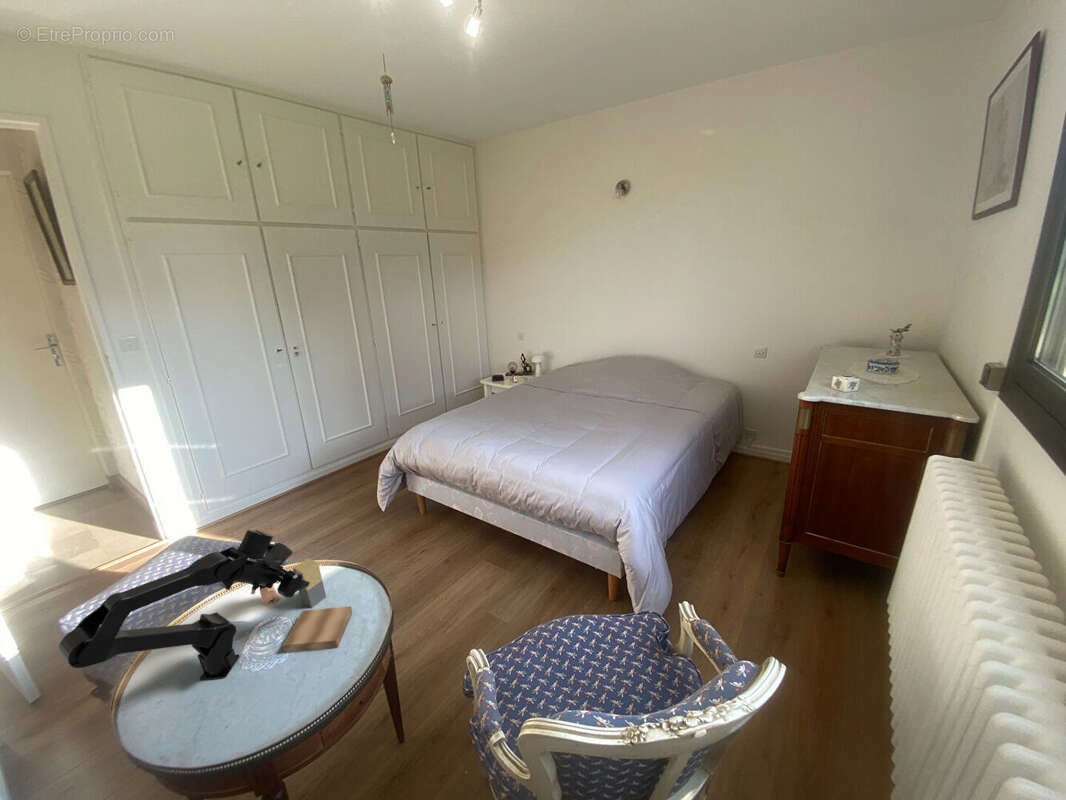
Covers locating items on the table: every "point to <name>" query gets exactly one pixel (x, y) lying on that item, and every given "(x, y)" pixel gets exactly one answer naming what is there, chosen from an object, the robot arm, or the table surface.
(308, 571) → the yellow grey tall block
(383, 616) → the table surface
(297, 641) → the walnut plinth
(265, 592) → the grandmother figurine
